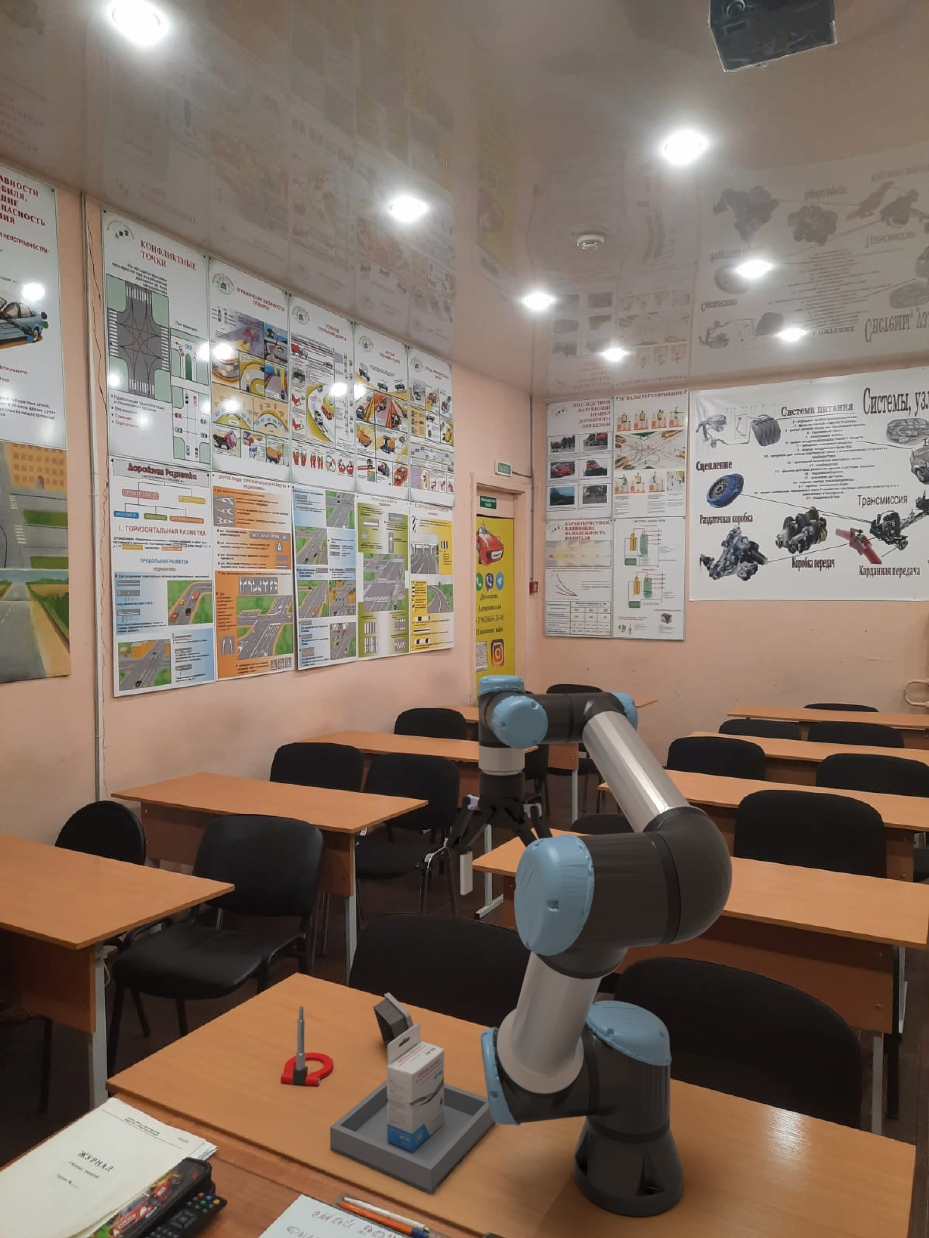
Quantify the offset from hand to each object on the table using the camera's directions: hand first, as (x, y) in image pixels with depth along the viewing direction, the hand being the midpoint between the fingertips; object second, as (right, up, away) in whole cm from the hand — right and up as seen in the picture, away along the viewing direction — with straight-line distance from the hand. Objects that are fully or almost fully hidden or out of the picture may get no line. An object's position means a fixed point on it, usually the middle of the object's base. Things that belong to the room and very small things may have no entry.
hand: (502, 899), depth 134 cm
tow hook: (-34, -33, +9) cm, 48 cm away
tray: (-14, -33, -9) cm, 37 cm away
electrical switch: (-18, -33, +15) cm, 40 cm away
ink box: (-14, -33, -9) cm, 36 cm away
